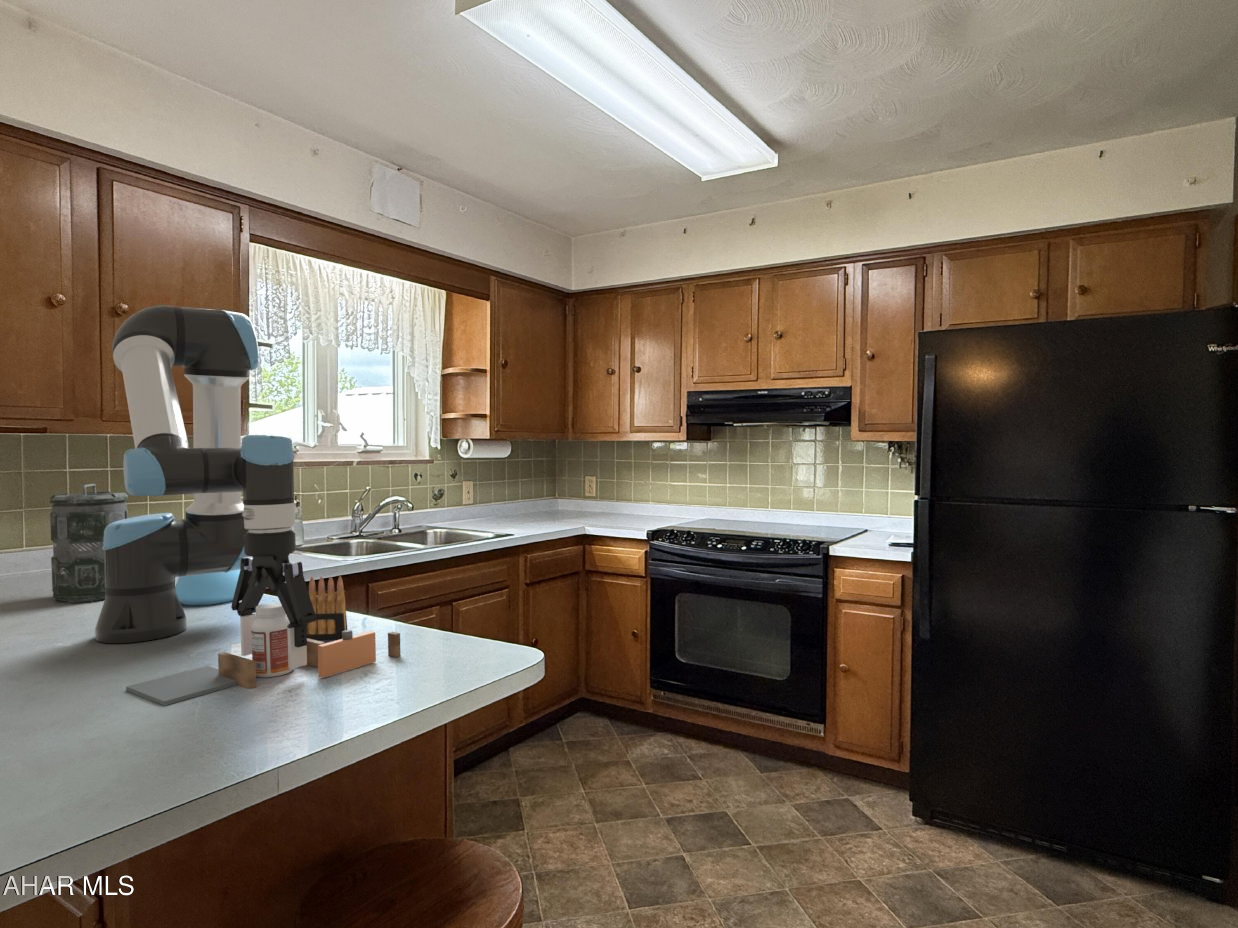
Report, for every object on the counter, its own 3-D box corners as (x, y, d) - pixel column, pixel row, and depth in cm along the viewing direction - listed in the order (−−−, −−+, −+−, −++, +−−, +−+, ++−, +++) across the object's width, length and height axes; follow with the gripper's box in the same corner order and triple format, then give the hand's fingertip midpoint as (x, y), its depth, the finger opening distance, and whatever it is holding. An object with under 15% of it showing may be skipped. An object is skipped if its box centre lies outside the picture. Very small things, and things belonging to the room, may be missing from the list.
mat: (126, 690, 110) (126, 686, 110) (207, 669, 120) (207, 665, 120) (164, 705, 104) (164, 701, 104) (246, 681, 114) (246, 678, 114)
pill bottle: (297, 665, 122) (296, 599, 122) (290, 676, 116) (288, 607, 116) (257, 668, 121) (255, 602, 120) (248, 680, 115) (246, 610, 114)
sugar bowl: (159, 605, 170) (157, 556, 170) (209, 592, 185) (208, 547, 184) (213, 608, 167) (211, 557, 166) (260, 594, 181) (258, 548, 181)
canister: (122, 600, 176) (118, 484, 175) (42, 606, 170) (38, 487, 169) (138, 588, 190) (134, 481, 190) (65, 593, 185) (61, 483, 184)
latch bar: (317, 676, 115) (316, 637, 115) (370, 660, 124) (369, 624, 123) (323, 678, 114) (322, 639, 114) (376, 661, 123) (375, 625, 123)
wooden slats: (218, 678, 115) (217, 653, 115) (346, 643, 135) (346, 622, 135) (271, 695, 107) (271, 669, 107) (400, 655, 127) (400, 633, 126)
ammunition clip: (348, 637, 140) (346, 575, 139) (345, 639, 138) (343, 577, 137) (291, 638, 139) (289, 576, 139) (287, 641, 137) (285, 578, 137)
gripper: (206, 528, 121) (210, 654, 122) (292, 536, 108) (296, 678, 108) (250, 523, 128) (253, 643, 128) (337, 531, 114) (340, 665, 114)
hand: (273, 660), depth 118 cm, fingers open, 13 cm apart
